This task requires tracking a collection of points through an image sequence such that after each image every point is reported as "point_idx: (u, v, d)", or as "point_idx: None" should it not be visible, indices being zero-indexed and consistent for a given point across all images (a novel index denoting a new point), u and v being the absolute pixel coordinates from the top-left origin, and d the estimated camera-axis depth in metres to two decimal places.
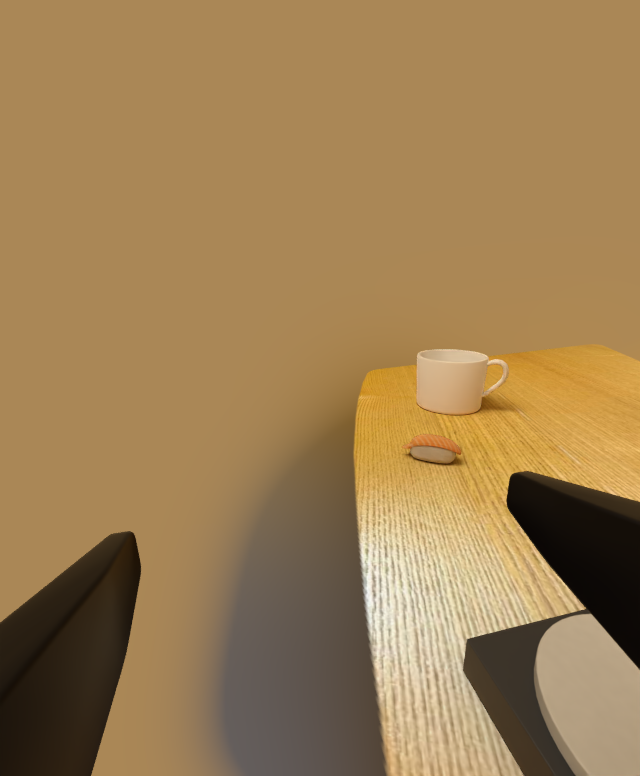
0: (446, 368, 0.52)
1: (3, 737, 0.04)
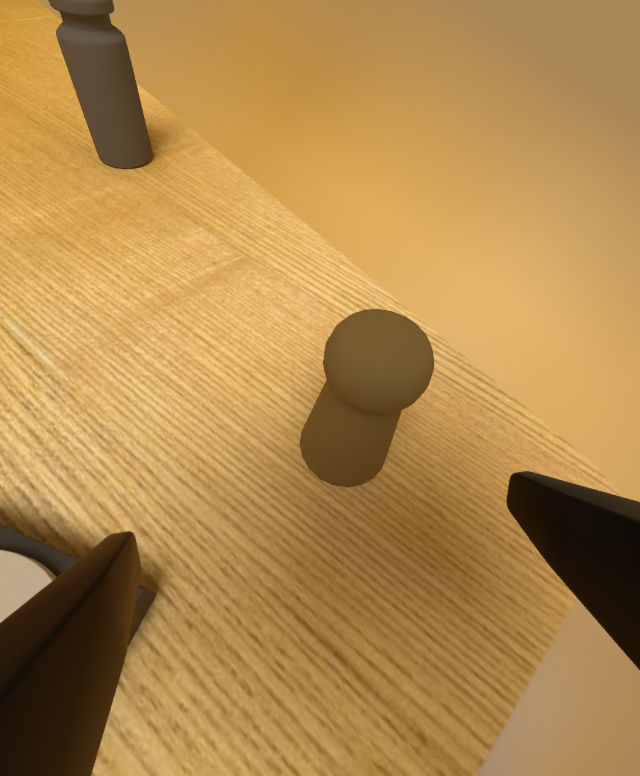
0: None
1: (3, 737, 0.04)
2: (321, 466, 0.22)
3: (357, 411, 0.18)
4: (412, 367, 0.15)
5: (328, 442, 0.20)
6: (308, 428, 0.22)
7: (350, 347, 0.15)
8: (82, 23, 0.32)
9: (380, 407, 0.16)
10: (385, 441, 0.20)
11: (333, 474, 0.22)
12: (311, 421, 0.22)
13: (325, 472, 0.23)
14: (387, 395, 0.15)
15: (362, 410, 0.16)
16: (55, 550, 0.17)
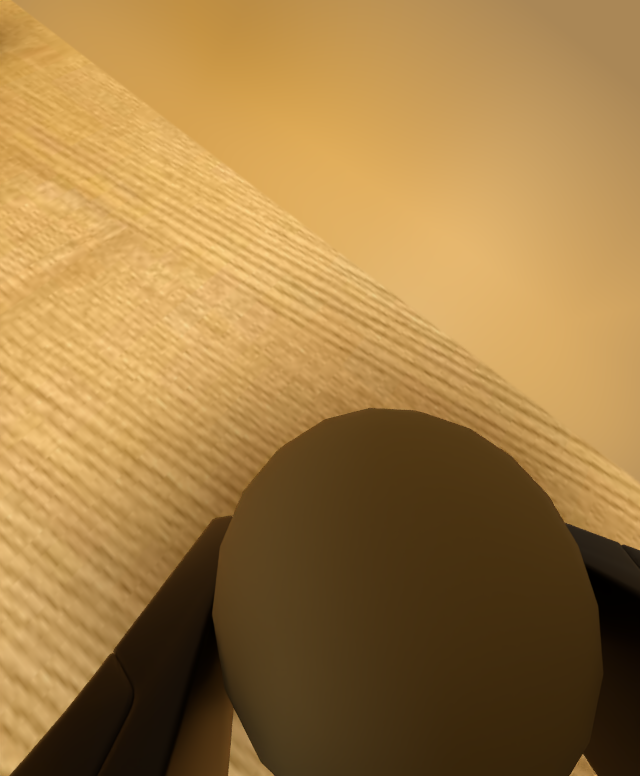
0: None
1: (203, 689, 0.04)
2: None
3: None
4: (562, 726, 0.04)
5: None
6: None
7: (298, 669, 0.04)
8: None
9: None
10: None
11: None
12: None
13: None
14: None
15: None
16: None
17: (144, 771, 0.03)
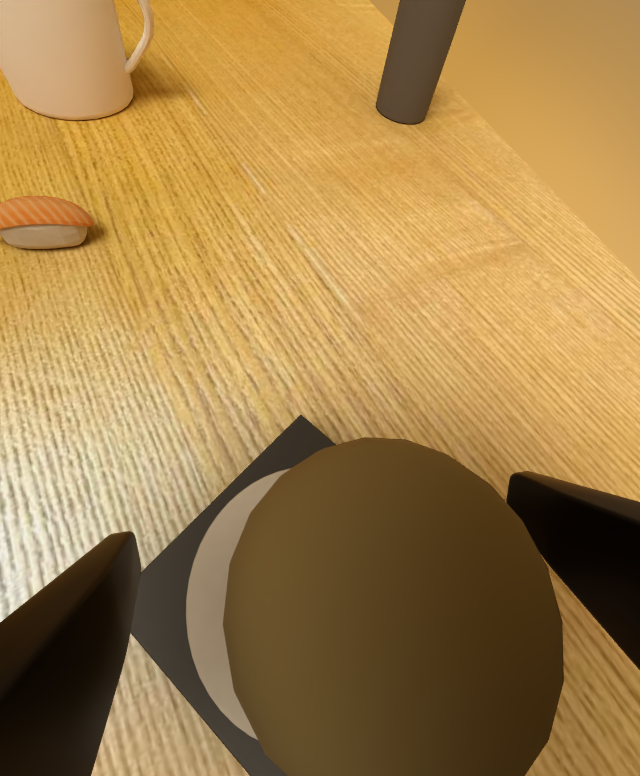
0: (22, 7, 0.25)
1: (3, 737, 0.04)
2: None
3: None
4: (523, 726, 0.04)
5: None
6: None
7: (298, 674, 0.04)
8: None
9: None
10: None
11: None
12: None
13: None
14: None
15: None
16: None
17: None
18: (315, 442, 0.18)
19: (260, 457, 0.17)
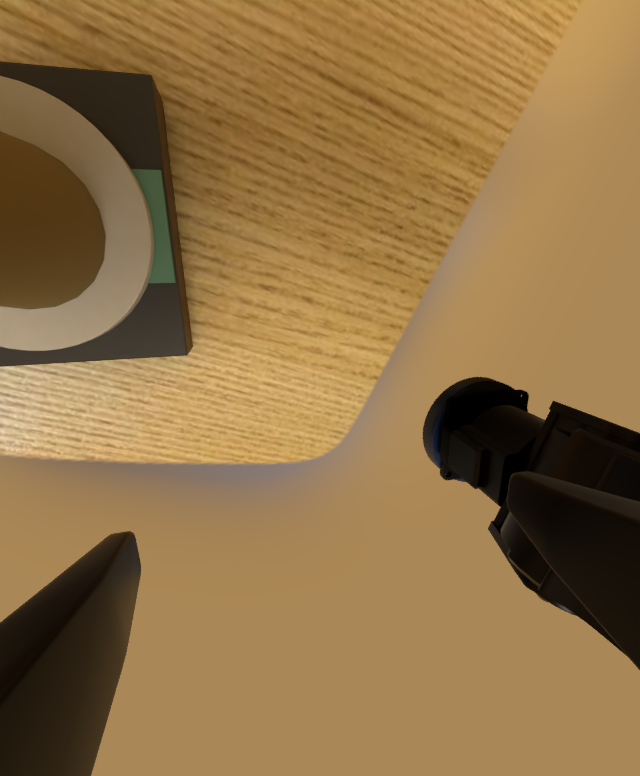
0: None
1: (3, 737, 0.04)
2: (30, 305, 0.13)
3: None
4: None
5: None
6: None
7: None
8: None
9: None
10: (27, 213, 0.10)
11: (56, 297, 0.14)
12: None
13: (46, 303, 0.14)
14: None
15: None
16: (6, 63, 0.13)
17: None
18: None
19: None
